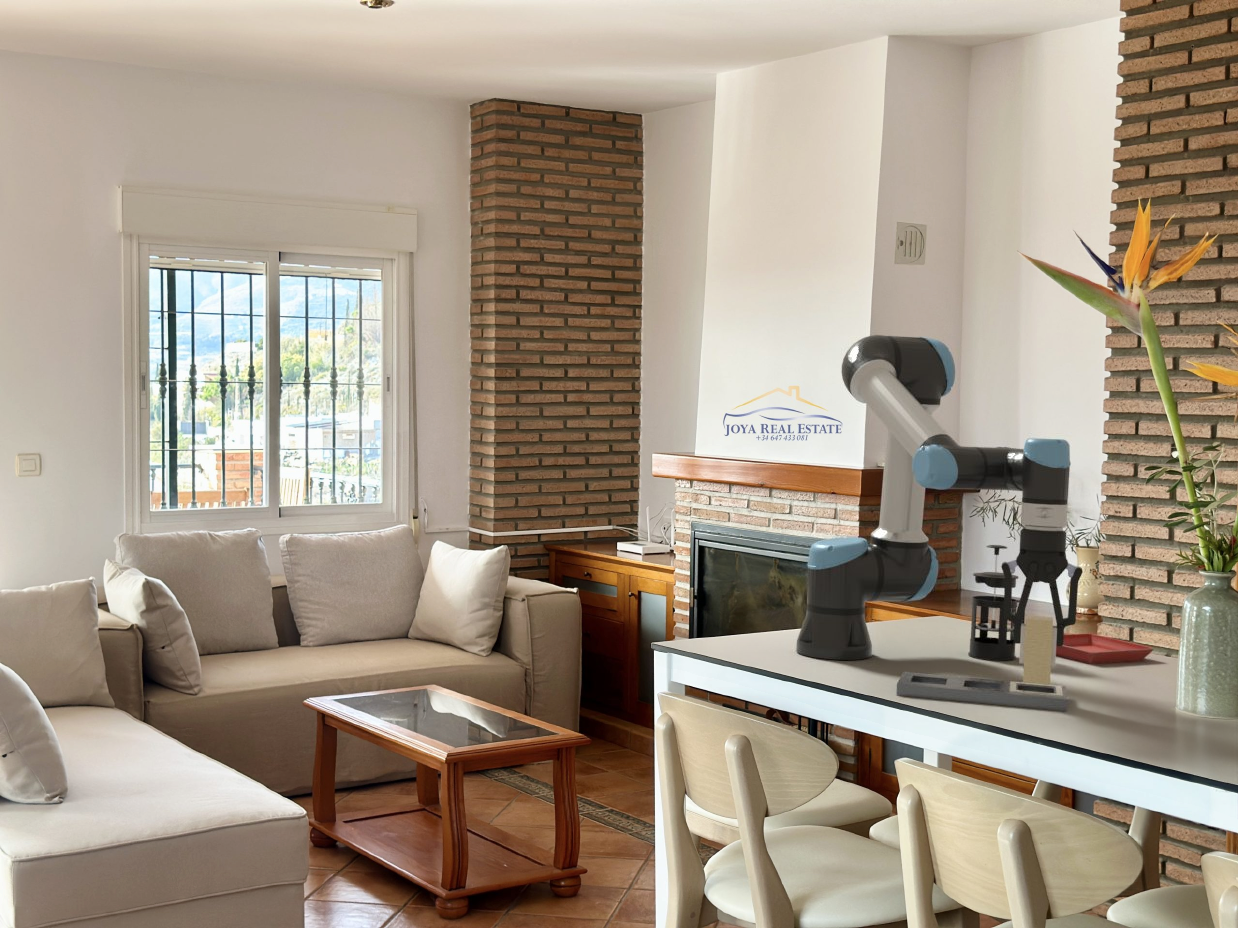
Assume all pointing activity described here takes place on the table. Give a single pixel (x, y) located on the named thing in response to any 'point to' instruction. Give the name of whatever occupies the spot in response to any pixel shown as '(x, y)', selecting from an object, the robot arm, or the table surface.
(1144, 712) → the table surface
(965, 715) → the table surface
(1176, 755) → the table surface
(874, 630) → the table surface
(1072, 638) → the red serving tray
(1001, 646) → the french press
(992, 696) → the grey flat slotted block
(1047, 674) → the peg
